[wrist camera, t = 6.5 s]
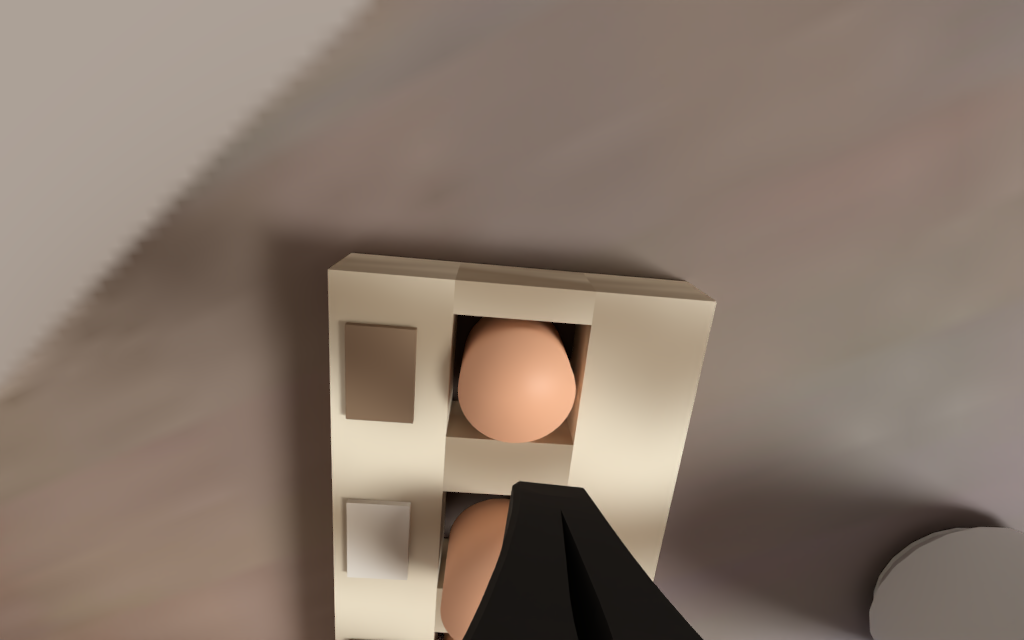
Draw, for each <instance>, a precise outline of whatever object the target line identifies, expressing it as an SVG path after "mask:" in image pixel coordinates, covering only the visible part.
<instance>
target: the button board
mask: <svg viewBox="0 0 1024 640" xmlns="http://www.w3.org/2000/svg"><path fill="white" fill-rule="evenodd" d="M716 303H717V302H716V301H715V300H713V299H712V298H710V297H709V296H708V295H706V294H705V293H703V292H702V291H700V290H699V289H697V288H696V287H694V286H693V285H691V284H690V283H689V282H687V281H675V280H663V279H652V278H640V277H628V276H617V275H605V274H593V273H581V272H570V271H558V270H546V269H534V268H523V267H511V266H499V265H488V264H476V263H464V262H452V261H441V260H429V259H417V258H405V257H394V256H382V255H370V254H358V253H351V254H349V255H348V256H346V257H345V258H343V259H342V260H340V261H339V262H338V263H336V264H335V265H333V266H332V267H330V268H329V269H328V307H329V356H330V405H331V453H332V502H333V551H334V599H335V640H437V638H438V632H443V633H448V632H447V631H446V629H445V627H444V625H443V623H442V620H441V614H440V607H441V599H442V591H443V583H444V575H445V567H446V559H447V551H448V543H449V539H445V538H444V525H445V509H446V493H447V491H448V492H465V493H481V494H498V495H511V491H512V485H514V484H516V483H517V482H519V481H525V482H534V483H543V484H553V485H562V486H572V487H581V488H584V489H585V490H586V492H587V493H588V495H589V496H590V497H591V499H592V500H593V501H594V503H595V504H596V506H597V507H598V509H599V510H600V511H601V513H602V514H603V516H604V517H605V518H606V520H607V521H608V523H609V524H610V525H611V527H612V528H613V530H614V531H615V532H616V534H617V535H618V537H619V538H620V539H621V541H622V542H623V543H624V545H625V546H626V547H627V549H628V550H629V551H630V553H631V554H632V555H633V557H634V558H635V559H636V561H637V562H638V563H639V564H640V566H641V567H642V568H643V570H644V571H645V572H646V573H647V575H648V576H649V577H650V579H651V580H652V581H653V580H654V576H655V571H656V567H657V563H658V558H659V554H660V549H661V545H662V541H663V536H664V532H665V527H666V523H667V519H668V514H669V510H670V505H671V501H672V497H673V492H674V488H675V483H676V479H677V475H678V470H679V466H680V461H681V457H682V453H683V448H684V444H685V439H686V435H687V430H688V426H689V422H690V417H691V413H692V408H693V404H694V400H695V395H696V391H697V386H698V382H699V378H700V373H701V369H702V364H703V360H704V356H705V351H706V347H707V342H708V338H709V334H710V329H711V325H712V320H713V316H714V312H715V307H716ZM458 314H459V315H471V316H484V317H496V318H509V319H522V320H534V321H547V322H559V323H572V324H576V326H575V333H574V341H573V348H572V355H571V362H570V366H571V369H572V371H573V374H574V379H575V386H576V392H575V399H574V403H573V406H572V409H571V411H570V413H569V414H568V416H567V417H566V419H565V420H564V422H563V423H562V424H561V425H560V426H559V427H558V428H556V429H555V430H554V431H553V432H551V433H550V434H548V435H546V436H544V437H542V438H540V439H537V440H534V441H530V442H524V443H508V442H502V441H498V440H495V439H492V438H490V437H488V436H486V435H484V434H482V433H481V432H479V431H478V430H477V429H476V428H475V427H473V426H472V424H471V423H470V422H469V421H468V420H467V418H466V417H465V415H464V413H463V411H462V409H461V406H460V403H459V401H452V397H453V381H454V365H455V349H456V333H457V317H458Z"/></svg>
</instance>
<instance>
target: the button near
mask: <svg viewBox="0 0 1024 640" xmlns="http://www.w3.org/2000/svg"><path fill="white" fill-rule="evenodd" d="M575 392H576V386H575V379H574V374H573V371H572V369H571V366H570V363H569V360H568V357H567V354H566V351H565V348H564V345H563V342H562V339H561V337H560V334H559V333H558V331H557V329H556V328H555V326H554V325H553V324H552V323H551V322H547V321H534V320H522V319H509V318H496V317H483V318H481V319H480V320H479V321H478V322H477V323H476V324H475V325H474V327H473V328H472V329H471V331H470V333H469V335H468V337H467V339H466V343H465V347H464V353H463V359H462V365H461V371H460V377H459V383H458V398H459V403H460V406H461V409H462V411H463V413H464V415H465V417H466V418H467V420H468V421H469V422H470V423H471V424H472V426H473V427H475V428H476V429H477V430H478V431H479V432H481V433H482V434H484V435H486V436H488V437H490V438H492V439H495V440H498V441H502V442H508V443H524V442H530V441H534V440H537V439H540V438H542V437H544V436H546V435H548V434H550V433H551V432H553V431H554V430H555V429H556V428H558V427H559V426H560V425H561V424H562V423H563V422H564V420H565V419H566V417H567V416H568V414H569V413H570V411H571V409H572V406H573V403H574V399H575Z"/></svg>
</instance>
